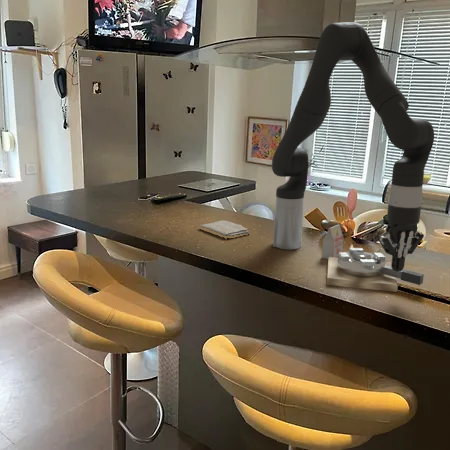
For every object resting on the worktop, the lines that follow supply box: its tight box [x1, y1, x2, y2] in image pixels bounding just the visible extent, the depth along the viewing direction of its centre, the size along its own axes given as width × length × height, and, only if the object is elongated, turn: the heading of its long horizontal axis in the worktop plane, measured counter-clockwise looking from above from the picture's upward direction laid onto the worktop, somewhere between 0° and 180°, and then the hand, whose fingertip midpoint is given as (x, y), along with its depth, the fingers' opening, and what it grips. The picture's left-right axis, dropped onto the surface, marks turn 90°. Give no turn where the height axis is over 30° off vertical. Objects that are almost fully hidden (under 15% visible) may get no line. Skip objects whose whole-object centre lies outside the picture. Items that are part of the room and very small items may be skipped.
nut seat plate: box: [326, 257, 399, 293], centre depth 130 cm, size 18×18×2 cm
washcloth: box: [199, 219, 250, 236], centre depth 172 cm, size 12×18×3 cm, turn 39°
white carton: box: [321, 224, 344, 260], centre depth 146 cm, size 4×7×10 cm, turn 139°
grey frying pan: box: [337, 247, 425, 286], centre depth 125 cm, size 24×13×4 cm, turn 46°
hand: (397, 270), depth 115 cm, fingers closed
